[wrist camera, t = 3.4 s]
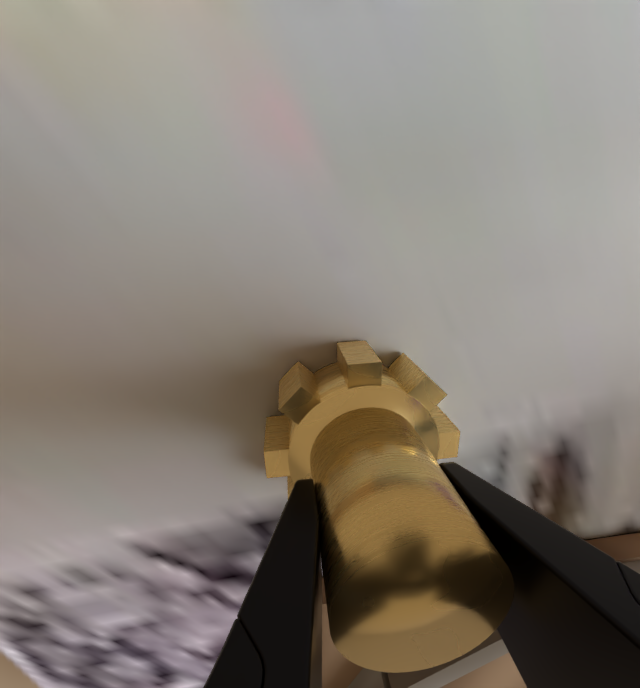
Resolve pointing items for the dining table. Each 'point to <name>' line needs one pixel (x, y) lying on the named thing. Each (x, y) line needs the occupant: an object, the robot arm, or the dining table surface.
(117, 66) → the dining table surface
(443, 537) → the gear
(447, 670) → the carrier
